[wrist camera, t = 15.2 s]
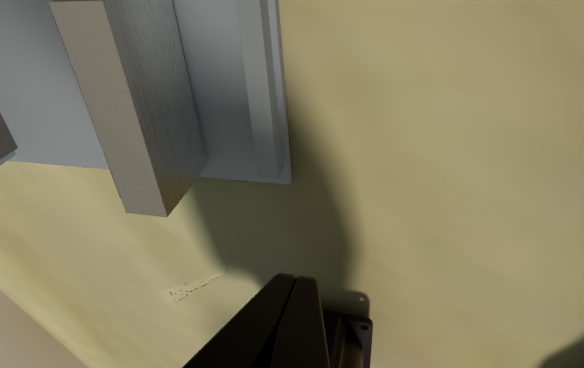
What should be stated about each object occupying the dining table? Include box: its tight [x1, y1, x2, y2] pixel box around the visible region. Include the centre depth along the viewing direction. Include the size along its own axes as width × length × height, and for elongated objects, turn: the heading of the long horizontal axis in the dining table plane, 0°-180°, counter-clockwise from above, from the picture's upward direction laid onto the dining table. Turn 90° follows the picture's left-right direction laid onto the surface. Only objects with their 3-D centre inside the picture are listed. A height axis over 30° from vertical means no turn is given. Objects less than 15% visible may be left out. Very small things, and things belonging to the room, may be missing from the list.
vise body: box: [0, 0, 292, 185], centre depth 20 cm, size 11×21×4 cm, turn 94°
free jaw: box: [49, 0, 207, 217], centre depth 18 cm, size 9×2×4 cm, turn 4°
